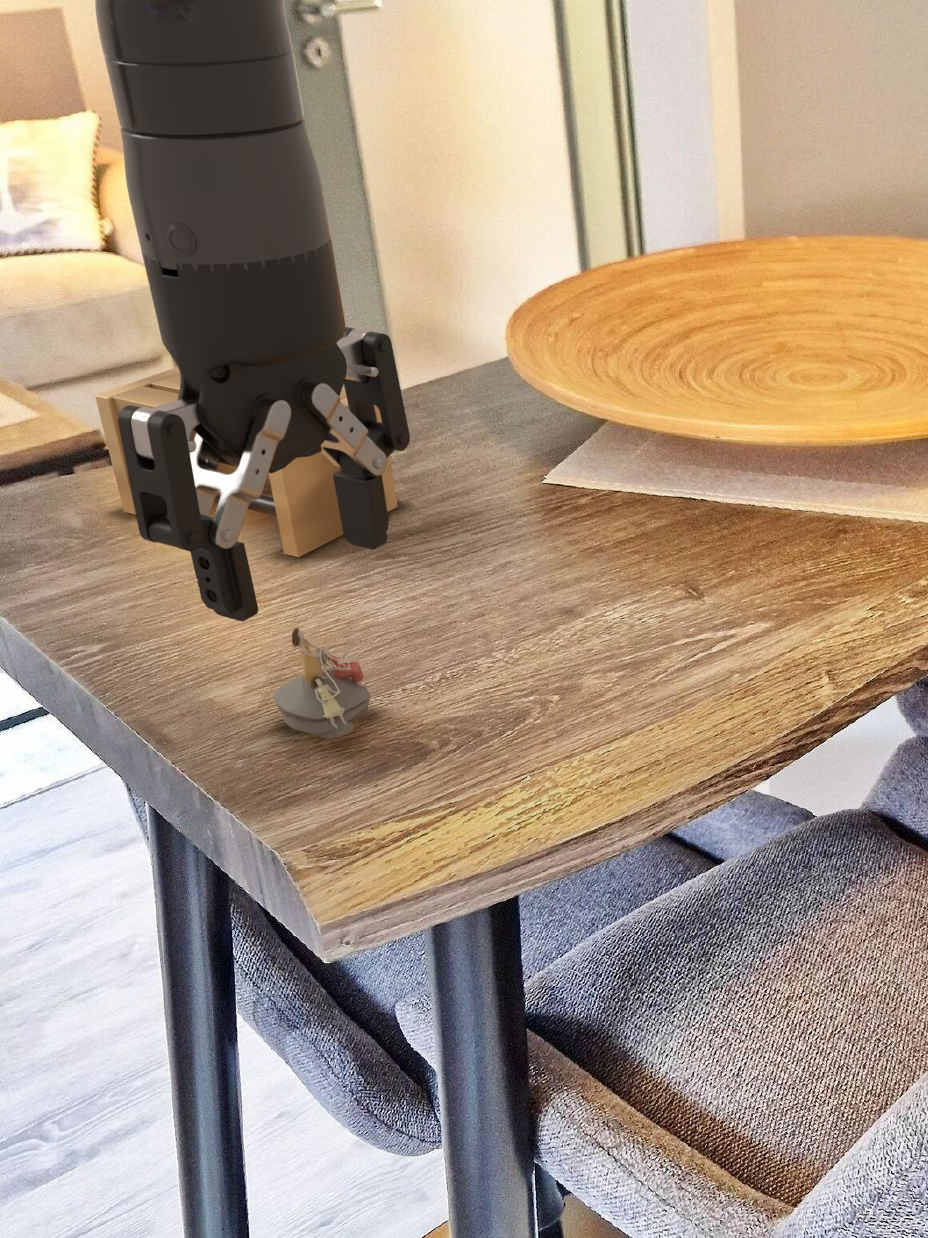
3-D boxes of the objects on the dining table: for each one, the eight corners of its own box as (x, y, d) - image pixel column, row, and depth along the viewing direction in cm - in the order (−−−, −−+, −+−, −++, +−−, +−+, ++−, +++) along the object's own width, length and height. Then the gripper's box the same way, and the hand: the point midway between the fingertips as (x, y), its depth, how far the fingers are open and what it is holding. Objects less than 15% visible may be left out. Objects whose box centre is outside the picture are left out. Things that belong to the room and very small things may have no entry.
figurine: (268, 719, 76) (246, 614, 73) (355, 694, 78) (337, 592, 75) (302, 766, 72) (280, 658, 69) (391, 739, 75) (374, 633, 72)
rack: (298, 557, 93) (275, 435, 89) (123, 512, 98) (94, 395, 94) (397, 507, 100) (380, 392, 96) (229, 467, 105) (206, 356, 101)
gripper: (292, 194, 70) (348, 511, 78) (26, 261, 59) (124, 624, 67) (419, 211, 68) (464, 538, 76) (166, 286, 56) (250, 660, 64)
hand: (304, 578), depth 71 cm, fingers open, 8 cm apart
